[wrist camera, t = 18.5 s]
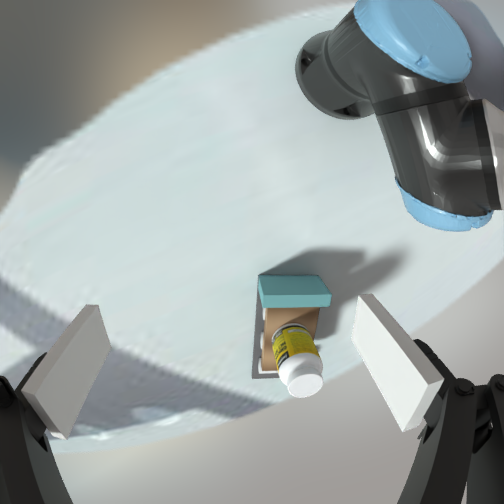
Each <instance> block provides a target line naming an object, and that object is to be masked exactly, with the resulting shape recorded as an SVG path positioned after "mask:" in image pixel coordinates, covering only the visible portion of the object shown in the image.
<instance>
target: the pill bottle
mask: <svg viewBox="0 0 504 504" xmlns="http://www.w3.org/2000/svg"><path fill="white" fill-rule="evenodd" d="M272 347H273V351H274V356H275V360H276V365H277V369H278V374H279V377H280V379H281V381H282V382H283V383H284V384H286V385H287V387H288V391H289V393H290V394H291V395H292V396H295V397H299V398H303V397H308V396H311V395H313V394H315V393H316V392H318V391H319V390H320V388H321V387H322V385H323V378H322V375H321V373H322V370H323V364H322V361H321V358H320V356H319V354H318V351H317V349H316V347H315V344H314V342H313V340H312V337H311V335H310V333H309V331H308V329H307V328H306V327H305V326H303V325H301V324H297V323H290V324H286V325H283V326H281V327H280V328H279V329H277V330H276V332H275V333H274V335H273V337H272Z"/></svg>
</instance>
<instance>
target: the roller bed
mask: <svg viewBox="0 0 504 504" xmlns="http://www.w3.org/2000/svg"><path fill="white" fill-rule="evenodd" d="M331 297H332V294H331V292H330V291H329V290H328V288H327V287H326V286H325V284H324V283H323V281H322V280H321V279H320V277H319V276H318V275H258V289H257V305H256V320H255V335H254V350H253V365H252V379H261V378H280V377H279V374H278V371H262V368H261V356H262V345H263V334H264V322H265V310H266V308H294V307H330V302H331Z"/></svg>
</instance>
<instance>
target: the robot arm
mask: <svg viewBox="0 0 504 504" xmlns="http://www.w3.org/2000/svg"><path fill="white" fill-rule="evenodd" d="M471 57H472V55H471V50H470V46H469V44H468V41H467V39H466V37H465V35H464V33H463V31H462V30H461V28H460V27H459V25H458V24H457V23H456V21H455V20H454V19H453V18H452V16H451V15H450V14H449V13H448V12H447V11H446V10H445V9H444V8H442V7H441V6H440V5H439V4H438V3H437V2H435V1H433V0H358V1H357V2H356V4H355V6H354V7H353V8H352V10H351V11H350V12H349V13H348V14H347V15H346V16H345V17H344V18H343V19H342V20H341V21H340V23H339V24H338V25H337V26H336V27H335V28H334V29H333V30H329V31H325V32H322V33H319V34H317V35H315V36H313V37H312V38H310V39H309V40H308V41H307V42H306V43H305V44H304V46H303V47H302V48H301V50H300V52H299V53H298V56H297V59H296V64H295V72H296V78H297V81H298V84H299V86H300V88H301V90H302V92H303V93H304V95H305V96H306V98H307V99H308V100H309V101H310V102H311V103H312V104H313V105H314V106H315V107H316V108H318V109H319V110H320V111H322V112H324V113H325V114H327V115H330V116H332V117H335V118H339V119H344V120H354V119H359V118H363V117H367V116H369V115H371V114H373V113H375V114H376V117H377V120H378V123H379V126H380V128H381V131H382V134H383V137H384V140H385V143H386V146H387V149H388V152H389V155H390V159H391V162H392V165H393V169H394V172H395V180H396V184H397V186H398V187H399V189H400V191H401V194H402V198H403V201H404V205H405V207H406V209H407V211H408V212H409V213H410V214H411V215H412V216H413V217H414V219H416V220H417V221H419V222H420V223H422V224H424V225H426V226H429V227H431V228H435V229H439V230H444V231H455V232H460V231H469V230H470V229H471V227H474V228H480V227H482V226H484V225H485V224H487V223H488V222H489V221H490V219H491V217H492V214H493V212H494V210H504V111H501V110H499V109H498V108H497V107H496V106H494V105H493V104H492V103H490V102H489V101H488V100H486V99H479V100H470V98H469V95H468V92H467V89H466V87H465V84H464V81H463V79H464V78H466V76H467V75H468V74H469V72H470V70H471V67H472V62H471V60H470V58H471ZM351 341H352V342H353V344H354V346H355V347H356V349H357V351H358V353H359V354H360V356H361V358H362V360H363V361H364V363H365V365H366V367H367V368H368V370H369V372H370V374H371V375H372V377H373V379H374V381H375V382H376V384H377V386H378V388H379V390H380V391H381V393H382V395H383V397H384V399H385V401H386V402H387V404H388V406H389V408H390V410H391V411H392V413H393V415H394V417H395V419H396V421H397V423H398V425H399V427H400V428H401V430H402V432H404V431H407V430H410V429H412V428H415V427H418V425H419V424H420V422H421V421H422V419H423V417H424V419H425V420H426V422H427V424H426V426H425V427H424V429H423V430H422V432H421V433H420V435H419V436H418V439H420V438H421V436H422V438H421V441H420V445H419V448H418V451H417V454H416V457H415V460H414V463H413V466H412V468H411V471H410V474H409V476H408V479H407V482H406V484H405V487H404V489H403V491H402V494H401V496H400V498H399V500H398V503H397V504H461V501H462V497H463V494H464V490H465V486H466V482H467V504H504V375H501V374H496V375H494V376H492V377H491V379H490V381H489V382H488V384H487V385H480V386H475V385H474V384H473V383H472V382H471V381H469V380H467V379H464V378H458V379H456V378H455V377H454V375H453V374H452V373H451V372H450V371H449V369H448V368H447V367H446V366H445V365H444V363H443V362H442V361H441V360H440V359H438V357H437V355H436V354H435V353H433V351H432V349H431V348H430V347H429V346H428V345H427V344H426V343H424V342H422V341H421V340H419V339H416V340H412V339H411V338H410V336H409V335H408V334H407V333H406V332H405V331H404V329H403V328H402V327H401V326H400V325H399V324H398V322H397V321H396V320H395V319H394V318H393V317H392V316H391V314H390V313H389V312H388V311H387V310H386V309H385V308H384V307H383V305H382V304H381V303H380V302H379V301H378V300H377V299H376V298H375V297H374V295H373V294H363V295H359V296H358V302H357V308H356V314H355V320H354V325H353V330H352V336H351ZM111 348H112V347H111V345H110V342H109V339H108V336H107V333H106V329H105V326H104V323H103V320H102V316H101V313H100V310H99V306H98V305H85V307H84V308H83V309H82V310H81V311H80V313H79V314H78V315H77V316H76V317H75V319H74V320H73V321H72V322H71V324H70V325H69V326H68V327H67V329H66V330H65V331H64V332H63V334H62V335H61V336H60V337H59V339H58V340H57V341H56V343H55V344H54V345H53V346H52V348H51V349H50V350H49V352H48V353H47V352H46V353H44V354H43V355H42V356H40V357H39V358H38V359H37V360H36V361H35V363H34V364H33V367H31V368H30V370H29V372H27V374H26V375H25V377H24V378H23V379H22V381H21V382H20V384H19V385H18V386H17V388H16V389H15V391H14V390H13V388H12V386H11V385H10V383H9V381H8V380H7V378H5V377H4V376H0V504H73V502H72V500H71V498H70V496H69V494H68V492H67V489H66V487H65V485H64V482H63V480H62V478H61V475H60V473H59V470H58V467H57V465H56V462H55V459H54V456H53V453H52V450H51V447H50V444H49V441H48V438H47V436H46V434H45V433H44V432H45V430H46V428H47V429H48V430H49V431H50V433H51V434H52V435H53V436H55V437H58V438H61V439H64V440H67V439H68V437H69V434H70V432H71V430H72V427H73V425H74V423H75V421H76V419H77V416H78V414H79V412H80V410H81V408H82V406H83V403H84V401H85V399H86V397H87V395H88V393H89V391H90V389H91V387H92V385H93V383H94V381H95V379H96V377H97V375H98V373H99V371H100V369H101V367H102V365H103V363H104V361H105V359H106V358H107V356H108V354H109V352H110V350H111ZM491 422H492V425H493V428H492V426H491Z"/></svg>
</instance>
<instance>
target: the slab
mask: <svg viewBox="0 0 504 504" xmlns="http://www.w3.org/2000/svg"><path fill="white" fill-rule="evenodd" d="M319 309H320V307H294V308H266V310H265V322H264V334H263V345H262V356H261V368H262V371H278V369H277V365H276V360H275V356H274V351H273V347H272V337H273V335H274V333H275V332H276V330H277V329H279V328H280V327H281V326H283V325H286V324H290V323H297V324H301V325H303V326H305V327H306V328H307V329H308V331H309V333H310V335H311V337H312V340H313V341H314V336H315V330H316V325H317V320H318V315H319Z"/></svg>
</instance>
